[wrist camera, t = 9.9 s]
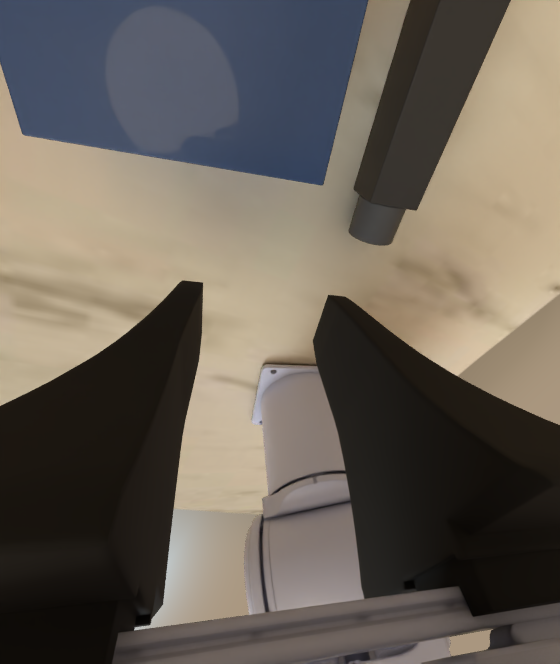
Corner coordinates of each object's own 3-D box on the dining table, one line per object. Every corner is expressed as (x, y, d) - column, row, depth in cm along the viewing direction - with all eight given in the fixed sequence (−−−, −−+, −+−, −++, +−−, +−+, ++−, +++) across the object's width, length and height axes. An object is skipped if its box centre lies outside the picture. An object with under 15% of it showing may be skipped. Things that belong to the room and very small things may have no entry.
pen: (448, -126, 10) (502, -179, 8) (510, -98, 10) (575, -142, 8) (341, 225, 17) (355, 243, 15) (381, 231, 18) (400, 248, 16)
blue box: (347, -64, 11) (402, -139, 7) (302, 163, 15) (323, 186, 12) (14, -184, 8) (-136, -372, 5) (78, 123, 13) (21, 135, 9)
